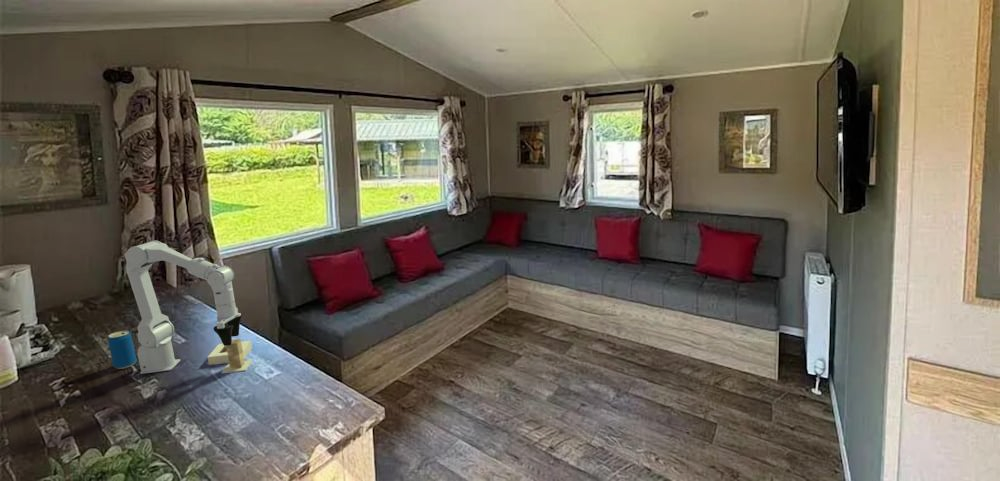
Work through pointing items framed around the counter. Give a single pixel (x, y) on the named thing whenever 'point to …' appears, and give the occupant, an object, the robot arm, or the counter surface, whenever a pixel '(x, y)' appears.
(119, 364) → the beverage can
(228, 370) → the rubber mat
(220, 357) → the cream square frame
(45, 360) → the counter surface
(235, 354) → the wood grain block
